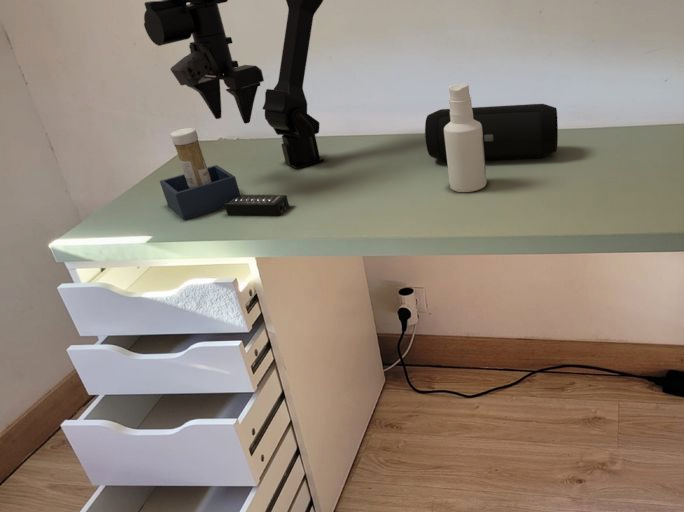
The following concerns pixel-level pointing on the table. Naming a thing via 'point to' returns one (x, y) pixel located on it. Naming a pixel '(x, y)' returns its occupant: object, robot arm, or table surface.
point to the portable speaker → (502, 131)
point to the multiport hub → (257, 205)
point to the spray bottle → (464, 143)
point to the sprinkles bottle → (191, 157)
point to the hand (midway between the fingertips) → (232, 120)
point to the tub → (200, 193)
